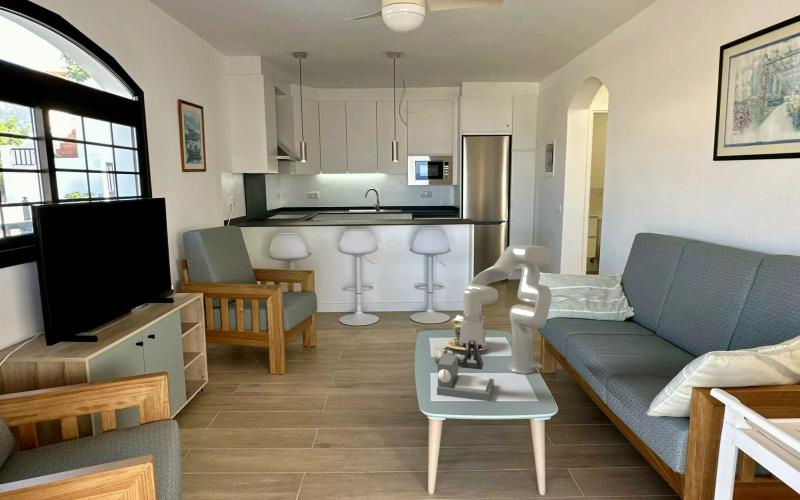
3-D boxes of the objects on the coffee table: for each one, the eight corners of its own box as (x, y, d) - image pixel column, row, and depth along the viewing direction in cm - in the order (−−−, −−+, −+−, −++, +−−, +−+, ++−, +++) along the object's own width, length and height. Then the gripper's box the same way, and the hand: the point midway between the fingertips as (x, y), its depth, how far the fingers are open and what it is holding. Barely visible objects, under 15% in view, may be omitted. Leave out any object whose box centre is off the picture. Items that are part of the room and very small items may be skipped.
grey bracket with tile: (494, 385, 209) (494, 357, 208) (488, 401, 194) (488, 370, 193) (445, 379, 217) (445, 352, 215) (436, 394, 202) (436, 365, 200)
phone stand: (483, 364, 204) (483, 337, 203) (482, 369, 199) (482, 341, 197) (462, 362, 207) (463, 336, 205) (460, 367, 201) (461, 340, 200)
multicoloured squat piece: (456, 338, 275) (455, 310, 272) (496, 345, 261) (496, 316, 258) (434, 351, 255) (434, 321, 252) (476, 359, 241) (476, 328, 238)
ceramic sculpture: (439, 341, 243) (465, 348, 235) (439, 357, 245) (464, 364, 236) (428, 347, 235) (454, 355, 226) (428, 363, 236) (454, 372, 228)
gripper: (492, 316, 201) (492, 357, 203) (456, 313, 206) (456, 354, 209) (489, 321, 194) (489, 364, 196) (452, 318, 199) (452, 360, 202)
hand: (472, 358), depth 202 cm, fingers closed on phone stand
